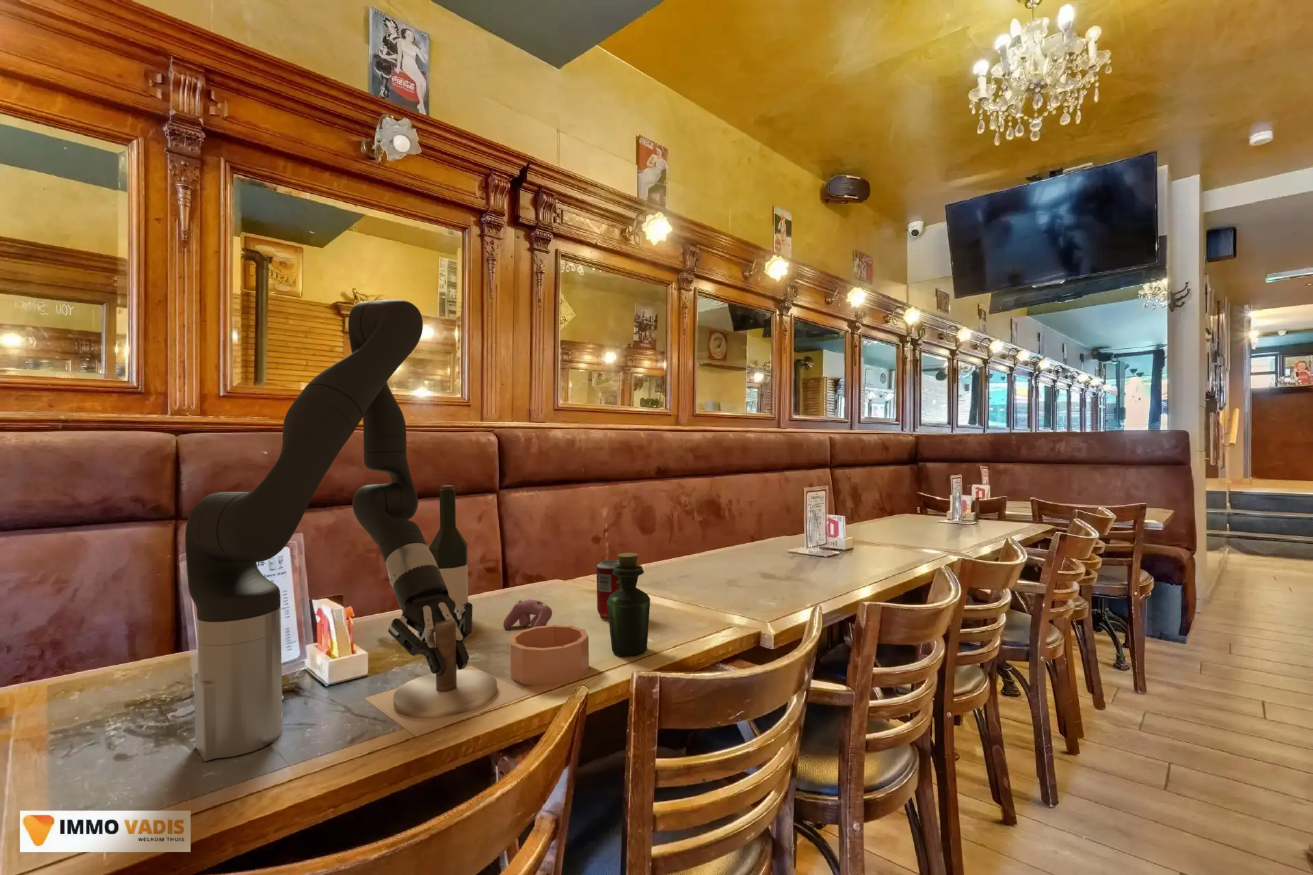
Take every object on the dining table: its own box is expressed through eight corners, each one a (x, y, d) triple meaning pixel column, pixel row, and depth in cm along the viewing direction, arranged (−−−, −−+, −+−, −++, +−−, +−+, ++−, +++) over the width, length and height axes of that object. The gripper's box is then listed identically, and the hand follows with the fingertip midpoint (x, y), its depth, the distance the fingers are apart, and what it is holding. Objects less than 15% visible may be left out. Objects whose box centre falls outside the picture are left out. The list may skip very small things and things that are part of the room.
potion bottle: (647, 642, 118) (646, 549, 118) (654, 657, 110) (653, 557, 110) (605, 645, 117) (604, 551, 117) (609, 660, 109) (608, 559, 109)
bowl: (540, 694, 95) (539, 655, 95) (495, 673, 104) (494, 637, 104) (603, 670, 104) (602, 635, 104) (557, 653, 113) (556, 620, 113)
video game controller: (548, 638, 126) (558, 604, 129) (535, 634, 123) (545, 599, 126) (513, 631, 132) (523, 599, 134) (499, 627, 128) (510, 594, 131)
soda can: (622, 622, 131) (621, 565, 132) (592, 620, 133) (591, 564, 133) (633, 613, 138) (632, 559, 138) (604, 611, 140) (603, 558, 140)
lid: (421, 728, 83) (420, 646, 83) (376, 697, 93) (375, 624, 93) (515, 693, 94) (514, 621, 94) (466, 669, 104) (465, 604, 104)
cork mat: (416, 739, 81) (416, 736, 81) (363, 700, 93) (363, 698, 93) (530, 696, 94) (530, 693, 94) (470, 667, 106) (470, 665, 106)
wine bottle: (456, 628, 129) (454, 487, 130) (421, 626, 131) (419, 487, 131) (476, 616, 138) (474, 484, 138) (442, 615, 139) (440, 484, 139)
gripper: (378, 570, 94) (415, 669, 85) (462, 557, 104) (502, 644, 95) (365, 599, 97) (399, 697, 89) (448, 583, 108) (485, 669, 99)
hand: (452, 669), depth 92 cm, fingers closed on lid, 3 cm apart
